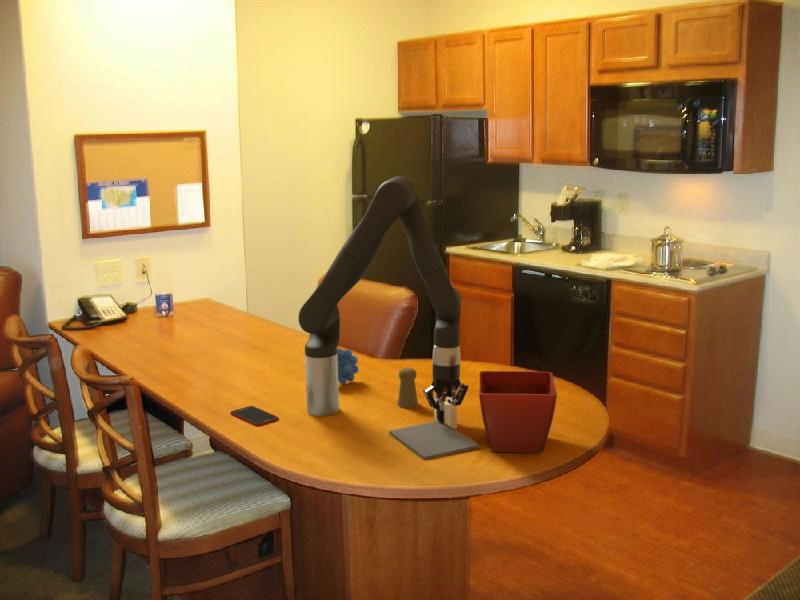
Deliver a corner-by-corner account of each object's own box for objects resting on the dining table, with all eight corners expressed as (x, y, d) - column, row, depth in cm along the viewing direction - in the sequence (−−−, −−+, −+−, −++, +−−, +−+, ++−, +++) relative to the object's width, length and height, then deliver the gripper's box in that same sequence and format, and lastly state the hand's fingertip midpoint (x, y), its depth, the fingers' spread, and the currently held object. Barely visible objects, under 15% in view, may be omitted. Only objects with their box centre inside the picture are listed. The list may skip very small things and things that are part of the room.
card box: (434, 419, 241) (433, 399, 239) (441, 417, 242) (440, 397, 240) (450, 429, 233) (449, 408, 231) (457, 428, 234) (456, 407, 232)
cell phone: (252, 408, 253) (251, 405, 252) (280, 421, 242) (280, 417, 242) (229, 414, 248) (229, 411, 247) (257, 428, 237) (257, 425, 237)
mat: (388, 433, 231) (388, 430, 231) (440, 423, 238) (440, 420, 237) (423, 459, 213) (423, 456, 213) (478, 447, 220) (478, 445, 220)
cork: (394, 406, 251) (394, 370, 249) (401, 400, 257) (401, 364, 254) (414, 408, 249) (413, 372, 247) (420, 402, 255) (420, 366, 252)
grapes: (335, 391, 266) (334, 353, 263) (323, 385, 271) (322, 349, 268) (366, 383, 273) (365, 347, 270) (354, 378, 278) (353, 342, 275)
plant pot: (479, 429, 233) (479, 369, 229) (550, 430, 231) (552, 371, 227) (478, 457, 214) (478, 393, 211) (555, 459, 213) (557, 394, 209)
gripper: (461, 354, 240) (460, 413, 243) (417, 360, 233) (416, 420, 237) (475, 361, 233) (473, 421, 237) (430, 367, 227) (429, 429, 231)
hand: (445, 420), depth 237 cm, fingers closed on card box, 2 cm apart
